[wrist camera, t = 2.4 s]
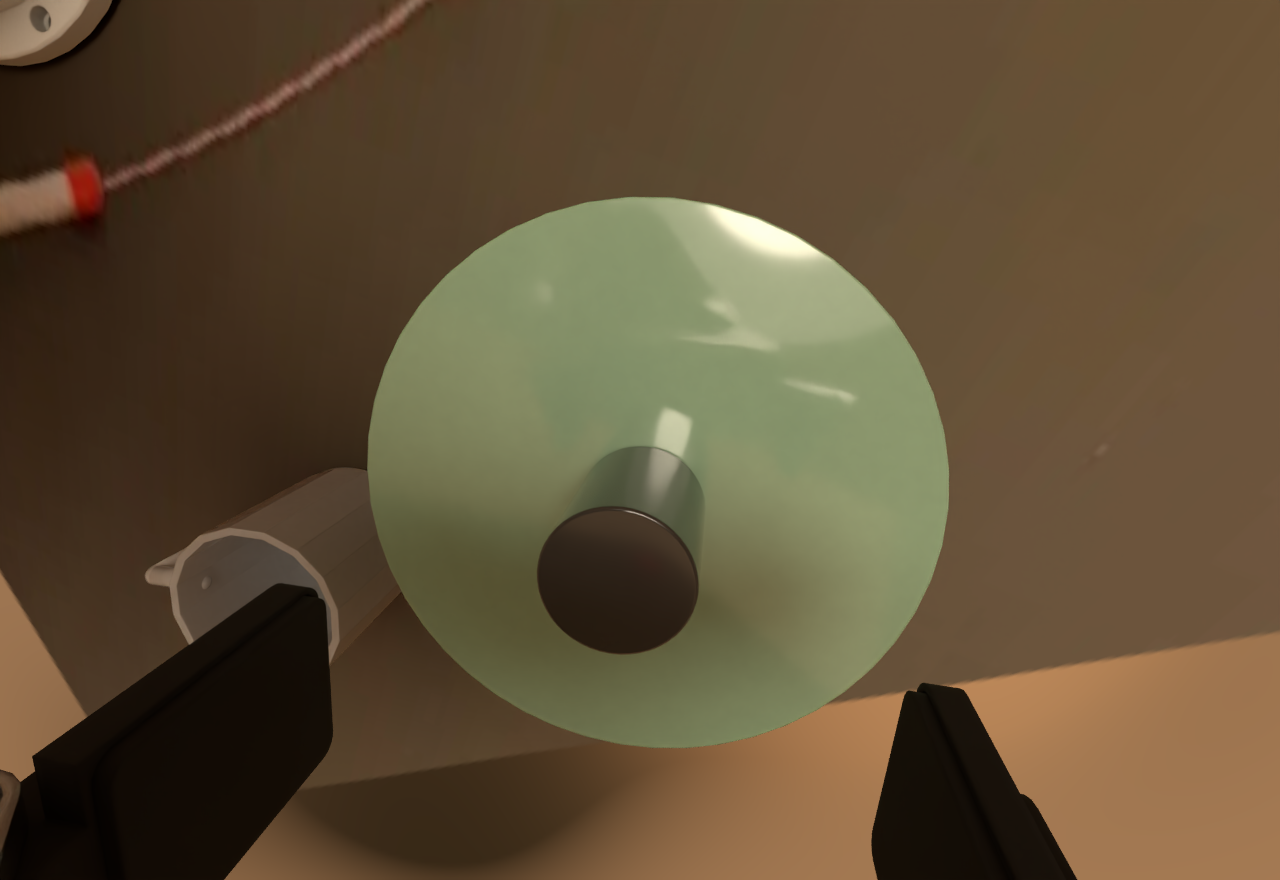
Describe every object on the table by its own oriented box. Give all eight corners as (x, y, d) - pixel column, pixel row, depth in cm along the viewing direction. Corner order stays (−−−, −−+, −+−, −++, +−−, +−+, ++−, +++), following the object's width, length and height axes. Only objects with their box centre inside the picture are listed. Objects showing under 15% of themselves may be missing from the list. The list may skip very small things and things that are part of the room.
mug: (424, 476, 29) (334, 543, 23) (424, 606, 31) (342, 702, 24) (241, 452, 30) (103, 509, 23) (253, 580, 32) (128, 666, 25)
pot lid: (390, 682, 23) (285, 817, 17) (377, 175, 18) (227, 141, 13) (875, 763, 21) (927, 939, 16) (1002, 228, 16) (1137, 216, 11)
